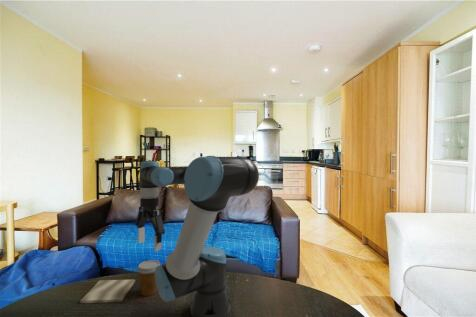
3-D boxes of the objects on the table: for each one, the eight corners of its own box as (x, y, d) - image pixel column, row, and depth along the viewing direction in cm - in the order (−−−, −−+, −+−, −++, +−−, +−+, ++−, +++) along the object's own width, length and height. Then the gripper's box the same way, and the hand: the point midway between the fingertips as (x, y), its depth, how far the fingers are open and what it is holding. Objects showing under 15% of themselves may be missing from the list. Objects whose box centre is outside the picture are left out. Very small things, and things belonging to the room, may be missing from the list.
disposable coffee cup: (164, 286, 109) (164, 260, 109) (154, 299, 100) (155, 269, 100) (143, 285, 110) (144, 259, 110) (132, 297, 101) (132, 268, 101)
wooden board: (135, 281, 114) (135, 279, 114) (121, 301, 98) (121, 299, 98) (99, 282, 112) (99, 280, 112) (79, 303, 97) (79, 300, 97)
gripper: (174, 199, 100) (173, 250, 100) (143, 193, 116) (142, 237, 116) (157, 201, 94) (157, 256, 94) (127, 194, 110) (127, 241, 110)
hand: (149, 246), depth 105 cm, fingers open, 13 cm apart
